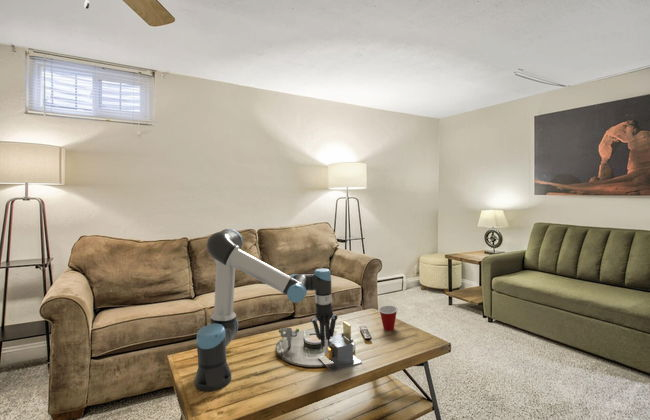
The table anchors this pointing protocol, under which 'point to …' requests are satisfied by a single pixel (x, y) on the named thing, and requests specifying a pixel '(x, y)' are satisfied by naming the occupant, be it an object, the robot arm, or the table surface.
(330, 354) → the lynch pin
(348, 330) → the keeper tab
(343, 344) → the grey boxy piece
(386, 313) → the plastic cup
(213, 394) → the table surface
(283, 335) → the mechanical component
